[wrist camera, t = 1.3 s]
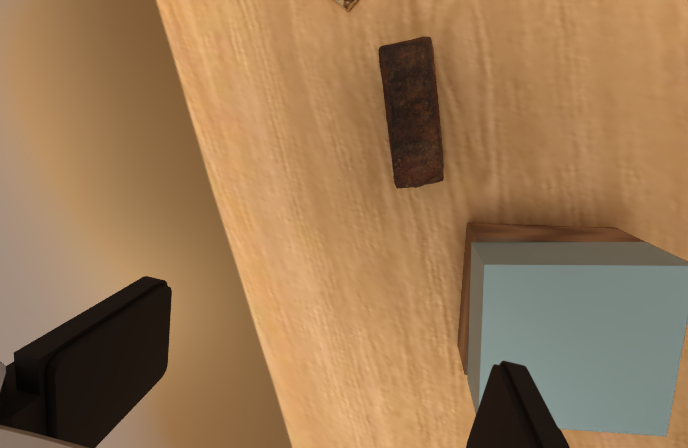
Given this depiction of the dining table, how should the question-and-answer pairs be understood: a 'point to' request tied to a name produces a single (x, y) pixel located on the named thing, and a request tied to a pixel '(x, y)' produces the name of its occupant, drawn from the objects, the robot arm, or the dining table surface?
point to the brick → (412, 112)
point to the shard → (346, 3)
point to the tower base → (521, 234)
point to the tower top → (582, 328)
